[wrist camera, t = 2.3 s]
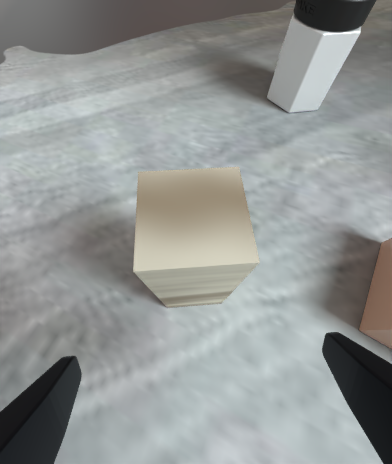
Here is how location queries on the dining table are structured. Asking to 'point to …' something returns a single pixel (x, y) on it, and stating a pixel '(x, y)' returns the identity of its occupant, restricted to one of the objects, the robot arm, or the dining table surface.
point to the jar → (315, 51)
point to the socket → (380, 299)
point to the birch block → (193, 235)
